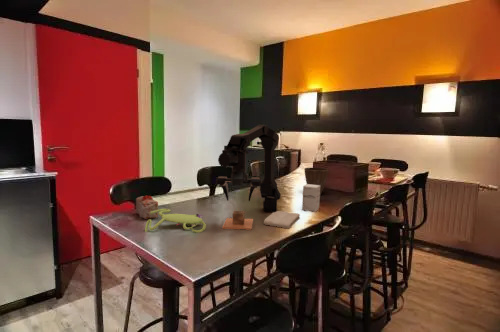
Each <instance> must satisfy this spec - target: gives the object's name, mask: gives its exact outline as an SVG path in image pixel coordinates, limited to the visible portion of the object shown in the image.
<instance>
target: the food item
mask: <svg viewBox="0 0 500 332" xmlns="http://www.w3.org/2000/svg"><path fill="white" fill-rule="evenodd" d="M155 210H159V202H158V201H156V200H155V199H154V198H153V197H152V196H151V195H144V196H143V195H142V196H138V197H136V198H135V213H136V214H138V215H139V218H142V219H144V220H150V219H151V220H152V219H153V220H154V219H156V218H157V219H158V217H159V214H158V213H159V212H157V213H153V214H150V212H152V211H155Z"/></svg>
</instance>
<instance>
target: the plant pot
mask: <svg viewBox="0 0 500 332" xmlns="http://www.w3.org/2000/svg"><path fill="white" fill-rule="evenodd" d="M328 173H329V169H328V168H325V167H305V168H304V176H305V183H306V184H312V185H320V195H322V192H323V191H324V188H325V186H326V183H327V178H328Z"/></svg>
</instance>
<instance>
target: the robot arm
mask: <svg viewBox="0 0 500 332" xmlns="http://www.w3.org/2000/svg"><path fill="white" fill-rule="evenodd" d="M256 139H259V140H260V145H261V147H262V148H263V150H264V151H263V152H264V153H263V154H264V155H263V157H264V159H263V160H264V162H263V165H264V166H263V167H264V168H263V172H264V173H263V179H262V178H261V177H258V176H257V177H256V176H255V177H253V176H252V177H251V178H249V174H248V173H249V172H247V171H246V168H247V167H246V166H247V165H246V164H247V163H246V162H247V160H246V159H247V157H246V155H247V154H249V151H248V150H247V148H248V147H249V146H251V143H252V142H253V141H255V140H256ZM279 140H280V139H279V134H278V133H277V132H276V131H275V130H273V129H271V128H269V126H268V125H265V124H257V125H255V127H252V128H251V129H249V130H248V131H245V132H244V133H243V132H242V133H237V134H232V135H231V136H230V138H229V141H228V142H227V145H226V147H225V149H222V153H220V154H219V156H218V158H217V161H218V165H220V167H222V168H229V167H231V174H230V178H228V177H227V176H221V175H220V176H218V177H217V178H216V179H215V185H217V186H219V188H222V190H223V193H224V194H225V198H226V201H229V184H230V185H231V186H244V184H249V185H250V186H249V187H250V188H249V193H248V202H251V198H252V195H253V194H254V193H253V192H254V190H255V189H257V188H258V187H259V191H260V192H259V193H260V197H261V198H262V199H263V205H262V207H263V209H262V210H263V211H264V212H272V213H275V212H276V211H278V206H277V205H278V201H279V200H280V199H281V196H282V195H281V192H280V191H279V189H278V183H277V182H276V179H275V150H276V148H277V146H278V144H279Z"/></svg>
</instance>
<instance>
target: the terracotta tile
mask: <svg viewBox="0 0 500 332" xmlns="http://www.w3.org/2000/svg"><path fill="white" fill-rule="evenodd" d="M253 223H254V218H244V225H236V224H233V217H227V218H226V219H225V221H224V223H223V226H222V229H223V230H240V229H246V230H245V231H252V230H253V229H252V228H253ZM251 229H252V230H251Z"/></svg>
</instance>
